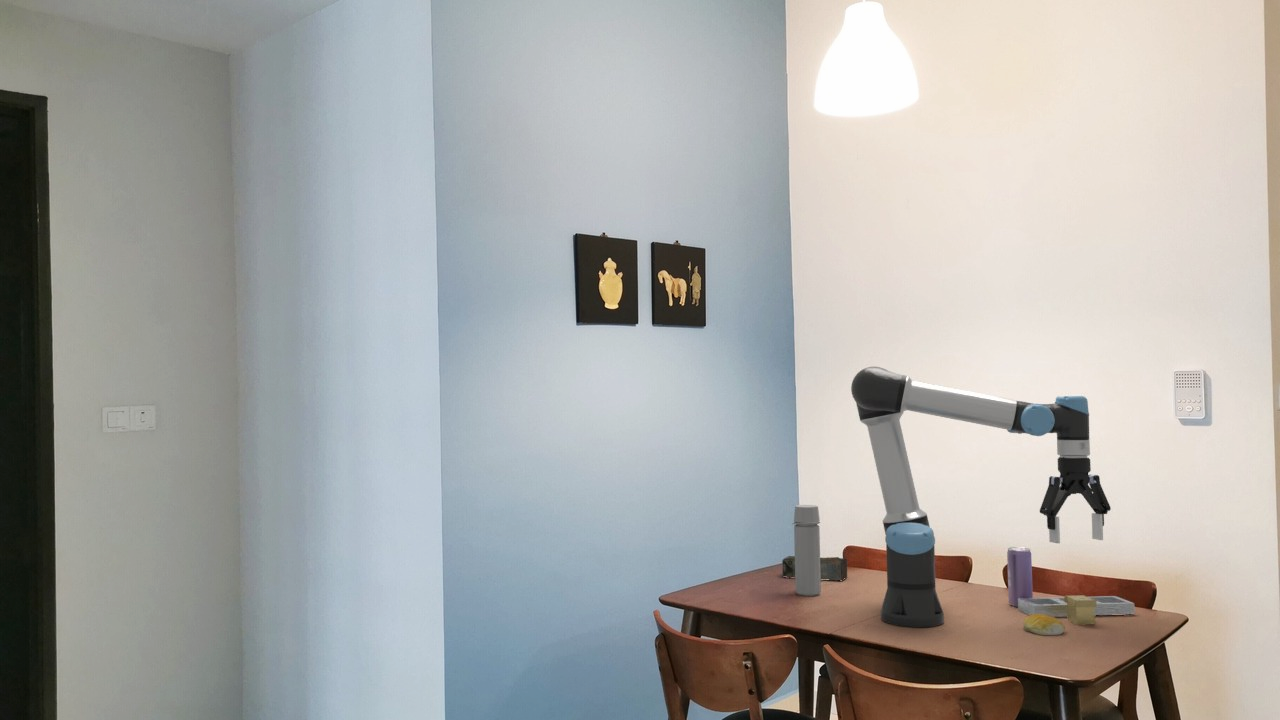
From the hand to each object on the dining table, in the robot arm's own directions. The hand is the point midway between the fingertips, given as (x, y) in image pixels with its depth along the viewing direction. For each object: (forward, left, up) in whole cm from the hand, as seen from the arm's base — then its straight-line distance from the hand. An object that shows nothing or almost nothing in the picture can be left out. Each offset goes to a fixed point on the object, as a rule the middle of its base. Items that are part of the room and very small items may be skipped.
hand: (1076, 541), depth 229 cm
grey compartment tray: (+2, +5, -19) cm, 20 cm away
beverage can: (-8, +14, -19) cm, 25 cm away
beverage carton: (-53, +58, -19) cm, 81 cm away
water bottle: (-61, +35, -19) cm, 73 cm away
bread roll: (-15, -12, -19) cm, 27 cm away
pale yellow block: (-2, -5, -19) cm, 20 cm away
